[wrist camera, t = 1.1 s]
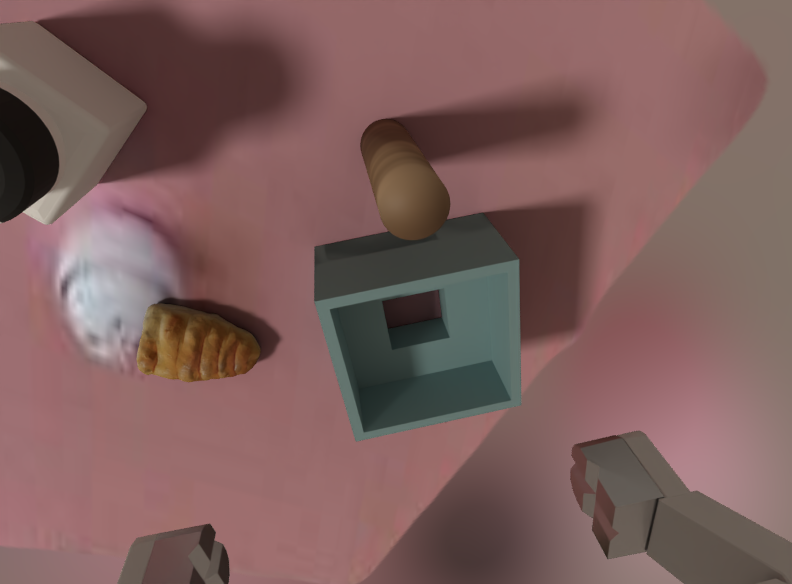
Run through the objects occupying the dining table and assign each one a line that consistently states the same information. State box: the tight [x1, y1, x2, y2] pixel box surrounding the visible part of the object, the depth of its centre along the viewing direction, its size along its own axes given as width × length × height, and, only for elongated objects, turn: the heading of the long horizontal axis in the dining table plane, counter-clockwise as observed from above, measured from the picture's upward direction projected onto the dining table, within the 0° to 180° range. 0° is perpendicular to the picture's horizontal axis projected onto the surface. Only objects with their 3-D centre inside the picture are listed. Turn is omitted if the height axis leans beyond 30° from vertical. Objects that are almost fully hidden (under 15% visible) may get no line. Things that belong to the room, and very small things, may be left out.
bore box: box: [314, 213, 521, 441], centre depth 38 cm, size 14×14×8 cm
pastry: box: [137, 304, 261, 382], centre depth 39 cm, size 9×7×4 cm
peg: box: [360, 119, 450, 240], centre depth 29 cm, size 4×4×12 cm
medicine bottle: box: [0, 21, 147, 225], centre depth 25 cm, size 7×7×12 cm
